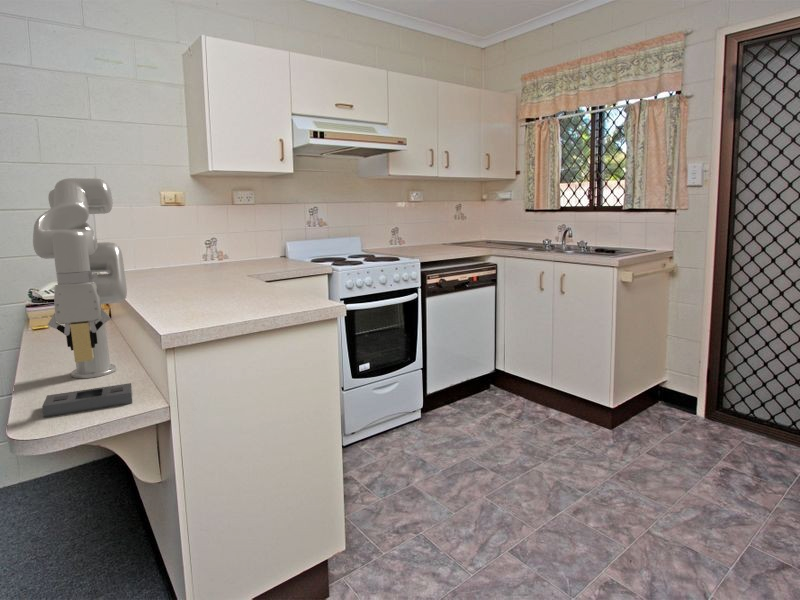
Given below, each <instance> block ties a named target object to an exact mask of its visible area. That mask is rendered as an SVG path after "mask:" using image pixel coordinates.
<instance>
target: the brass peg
mask: <svg viewBox="0 0 800 600" xmlns="http://www.w3.org/2000/svg"><path fill="white" fill-rule="evenodd" d="M70 327H71V334H72V342H73V350H72V351H73V356H74V363H76V362H82V361H90V360H93V358H94V353H93V348H92V347H91V339H90V330H91V329H90V325H89V322H81V323H71V324H70Z"/></svg>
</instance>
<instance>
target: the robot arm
mask: <svg viewBox="0 0 800 600" xmlns="http://www.w3.org/2000/svg"><path fill="white" fill-rule="evenodd" d="M111 191H112V190H111V188H110V186H109V184H108V183H107V181H105V180H104V179H101V178H85V177H84V178H82V177H81V178H77V177H75V178H64V179H61V180H58V181H57V182H56V184H55V186H54V188H53V189H52V190H50V192H48V204H49V207H50V209H48V210H46V211H45V212H44V213H42V214H41V215H40V216H38V218H37V219H36V220H35V222H34V225H33V234H32V244H33V245H32V247H33V250H34V253H35V254H36V255H37V256H38V257H40V258H41V259H48V260H50V259H51V260H52V259H54V266H55V275H56V283H57V284H55V285H54V293H53V295H54V296H53V297H54V298H53V299H54V302H53V303H54V305H53V306H54V314H53V315H52V317H51V318H50V320H49V321H48V323H47V325H48V327H50V328H52V329H56V330H57V331H59V332H60V333H62V334H64V336H65V337H66V344H67V348H70V351H74V350H73V342H72V334H71V327H70V324H71V323H81V322H89V325H90V329H91V330H90V339H91V347H92V348H93V353H94V358H93V360H90V361H82V362H75V369H73V370H72V371H71V374H70V375H71V377H73V378H74V379H93V378H98V377H103V376H106V375H110V374H112V373H114V372H116V371H117V366H116V364H114V363H113V364H112V363H111V358H110V352H109V351H110V350H109V349H110V348H109V341H108V335H107V326H106V323H108V322H109V321H110V320H111V317H110V315H108V313H107V312H106V311H105V310H104V309H103V308H102V306H101V305H109V304H117V303H122V302H124V301H125V300H126V299H127V297H128V296H127V294H128V293H127V292H128V289H127V288H128V287H127V281H126V273H125V267H124V266H125V265H124V259H123V253H122V250H121V248H120V246H119V245H118V244H117V243H115V242H109V241H108V242H105V241H104V242H98V241H97V240H98V239H97V236H96V235H95V233H94V230H93V227H92V226H91V225H90V224H88V222H87V221H88V219H89V215H97V214H98V215H101V214H103V215H104V214H109V213H110V212H111V211H112V209H113V203H114V202H113V196H112V192H111ZM98 273H101V274H98Z"/></svg>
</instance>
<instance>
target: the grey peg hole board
mask: <svg viewBox="0 0 800 600" xmlns="http://www.w3.org/2000/svg"><path fill="white" fill-rule="evenodd" d="M131 404H133V388H132V383H131V382H129V383H128V382H127V383H123V384H116V385H108V386H102V387H95V388H89V389H88V388H87V389H82V390H75V391H74V390H73V391H68V392H60V393H55V394H48V395H46V397H45V399H44V401H43V404H42V407H41V408H42V415H43V418H45V419H46V418H49V417H50V418H51V417H55V416H63V415H69V414H74V413H75V414H76V413H80V412H87V411H92V410H93V411H94V410H99V409H105V408H112V407H118V406H123V405H124V406H125V405H131Z"/></svg>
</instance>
